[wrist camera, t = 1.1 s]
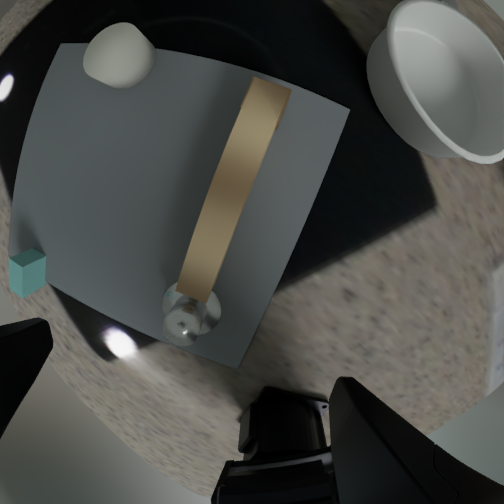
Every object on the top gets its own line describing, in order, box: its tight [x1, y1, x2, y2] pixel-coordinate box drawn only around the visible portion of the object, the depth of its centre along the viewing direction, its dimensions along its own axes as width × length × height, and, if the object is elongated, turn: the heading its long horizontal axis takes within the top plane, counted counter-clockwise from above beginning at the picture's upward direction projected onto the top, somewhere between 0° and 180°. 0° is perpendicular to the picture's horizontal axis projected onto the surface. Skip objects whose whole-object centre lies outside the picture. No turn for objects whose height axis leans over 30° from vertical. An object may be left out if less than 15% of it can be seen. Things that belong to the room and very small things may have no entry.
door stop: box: [83, 23, 156, 89], centre depth 14 cm, size 4×4×3 cm
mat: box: [9, 43, 350, 369], centre depth 18 cm, size 25×21×1 cm
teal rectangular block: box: [9, 248, 46, 298], centre depth 18 cm, size 2×3×4 cm, turn 159°
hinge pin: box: [162, 282, 221, 346], centre depth 18 cm, size 4×4×4 cm
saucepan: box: [366, 0, 504, 164], centre depth 11 cm, size 12×20×6 cm, turn 174°
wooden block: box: [175, 76, 292, 303], centre depth 16 cm, size 13×2×3 cm, turn 159°
